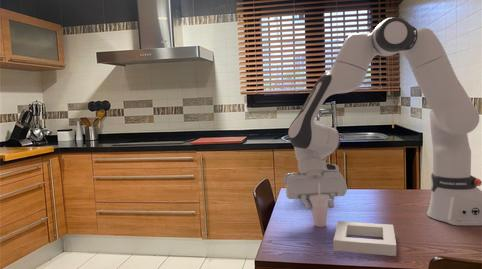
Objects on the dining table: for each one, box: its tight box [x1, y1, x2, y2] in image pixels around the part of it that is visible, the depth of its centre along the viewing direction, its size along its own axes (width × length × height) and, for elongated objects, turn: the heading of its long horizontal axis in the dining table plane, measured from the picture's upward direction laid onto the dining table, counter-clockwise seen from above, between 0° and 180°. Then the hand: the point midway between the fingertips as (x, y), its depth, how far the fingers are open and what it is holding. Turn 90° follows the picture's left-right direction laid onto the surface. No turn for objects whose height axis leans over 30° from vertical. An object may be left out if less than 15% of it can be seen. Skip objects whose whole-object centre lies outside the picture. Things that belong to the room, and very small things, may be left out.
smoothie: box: [308, 182, 330, 228], centre depth 128 cm, size 6×6×14 cm
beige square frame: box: [332, 220, 397, 257], centre depth 113 cm, size 16×16×3 cm
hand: (320, 207), depth 127 cm, fingers closed on smoothie, 6 cm apart
